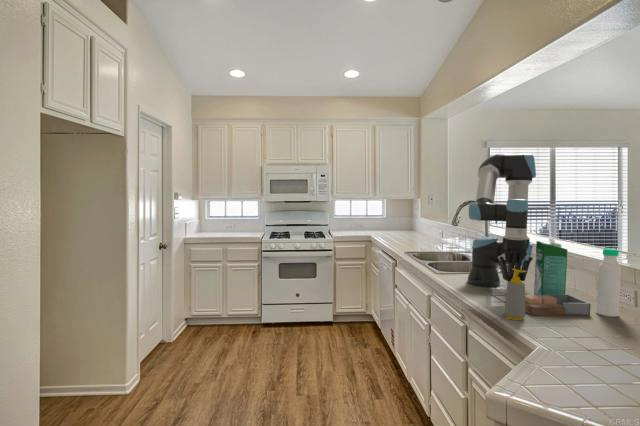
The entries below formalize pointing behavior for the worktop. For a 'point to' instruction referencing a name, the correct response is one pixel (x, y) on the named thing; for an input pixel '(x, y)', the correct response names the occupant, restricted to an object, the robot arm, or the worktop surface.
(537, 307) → the walnut board
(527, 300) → the tile
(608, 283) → the water bottle
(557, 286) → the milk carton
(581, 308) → the tray
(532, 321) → the worktop surface
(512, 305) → the soap bottle
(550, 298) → the tile
